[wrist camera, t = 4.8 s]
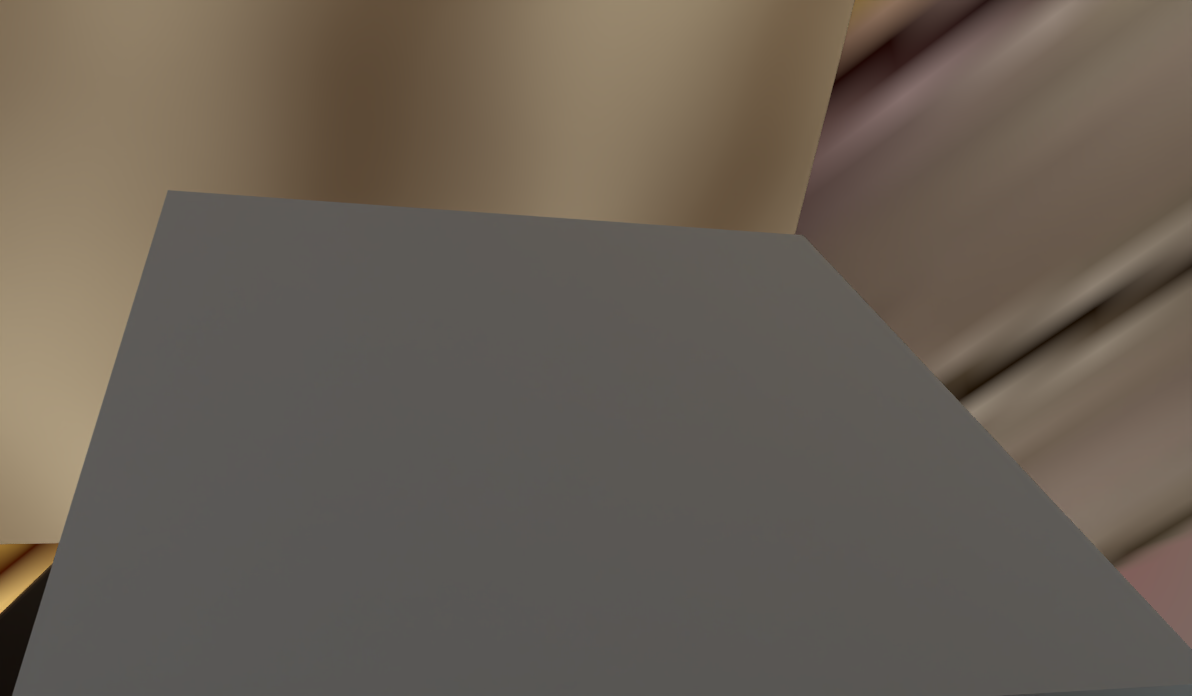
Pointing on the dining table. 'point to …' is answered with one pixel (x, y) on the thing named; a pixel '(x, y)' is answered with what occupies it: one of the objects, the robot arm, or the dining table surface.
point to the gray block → (551, 479)
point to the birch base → (360, 147)
